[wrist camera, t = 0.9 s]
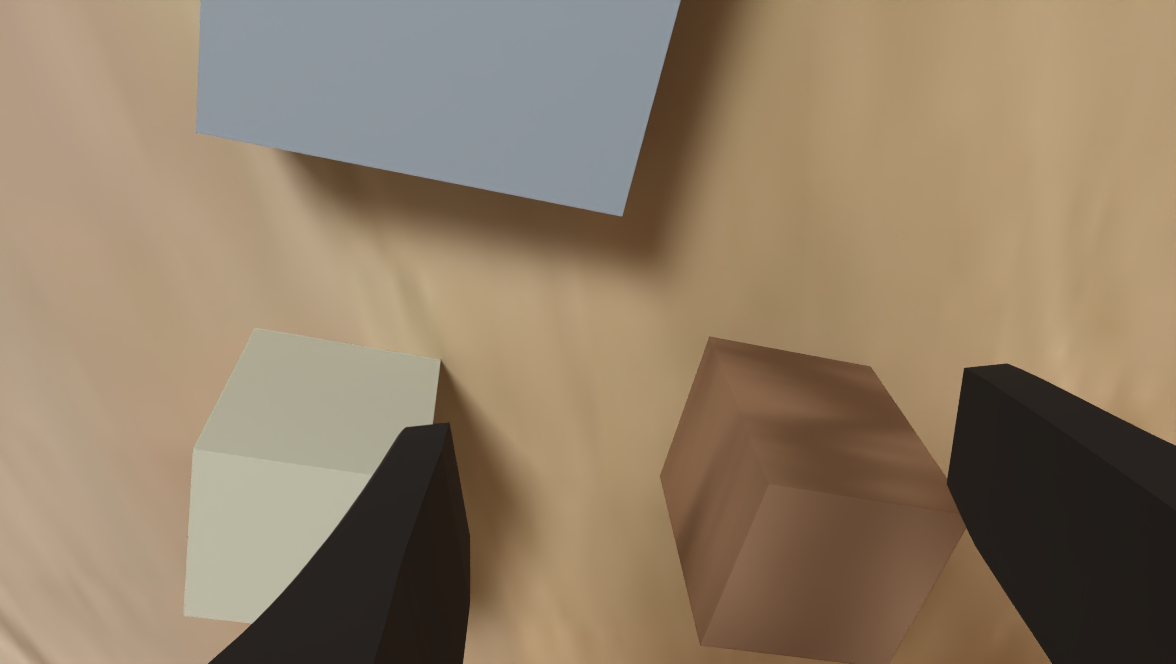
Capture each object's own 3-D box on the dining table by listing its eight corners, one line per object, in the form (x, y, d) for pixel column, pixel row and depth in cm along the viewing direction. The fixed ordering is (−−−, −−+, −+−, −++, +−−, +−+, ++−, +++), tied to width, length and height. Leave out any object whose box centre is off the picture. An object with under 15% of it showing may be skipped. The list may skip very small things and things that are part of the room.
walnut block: (870, 366, 24) (972, 516, 19) (809, 498, 26) (886, 667, 21) (709, 335, 23) (769, 484, 18) (659, 475, 25) (700, 645, 20)
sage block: (441, 358, 23) (425, 482, 18) (412, 497, 25) (393, 639, 20) (255, 326, 22) (193, 448, 18) (242, 473, 24) (183, 615, 20)
